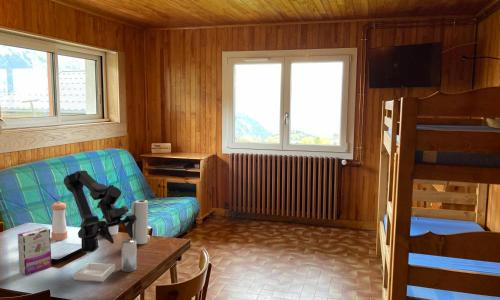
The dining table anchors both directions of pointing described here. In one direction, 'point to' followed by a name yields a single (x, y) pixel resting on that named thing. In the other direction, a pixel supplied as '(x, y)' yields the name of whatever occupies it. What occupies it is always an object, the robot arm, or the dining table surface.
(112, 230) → the white cup
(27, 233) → the candy bar box
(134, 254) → the gravel can
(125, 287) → the dining table surface
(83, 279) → the bin
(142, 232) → the paper towel roll
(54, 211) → the pepper shaker
